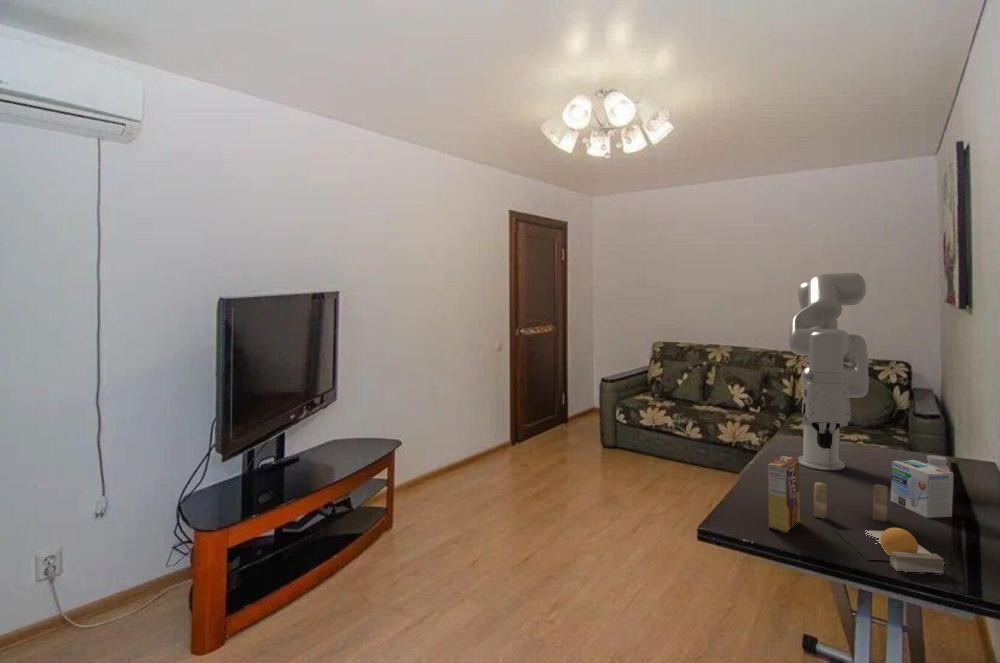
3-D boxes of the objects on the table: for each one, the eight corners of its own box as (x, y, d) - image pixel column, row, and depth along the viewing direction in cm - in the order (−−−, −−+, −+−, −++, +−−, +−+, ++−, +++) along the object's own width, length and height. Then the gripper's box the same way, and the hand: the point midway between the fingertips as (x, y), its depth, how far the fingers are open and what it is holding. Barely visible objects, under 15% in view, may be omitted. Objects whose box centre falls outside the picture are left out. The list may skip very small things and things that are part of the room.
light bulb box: (889, 501, 131) (890, 460, 130) (913, 500, 131) (914, 459, 131) (927, 518, 120) (928, 474, 120) (953, 517, 121) (955, 472, 120)
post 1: (811, 514, 123) (812, 482, 123) (823, 514, 123) (823, 482, 123) (816, 518, 121) (817, 486, 120) (828, 519, 120) (829, 486, 120)
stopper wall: (890, 566, 99) (890, 551, 99) (935, 569, 98) (936, 553, 97) (896, 571, 97) (896, 556, 97) (943, 574, 96) (943, 559, 96)
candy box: (780, 517, 122) (781, 454, 121) (800, 522, 119) (801, 458, 118) (766, 528, 116) (767, 463, 115) (787, 534, 113) (788, 467, 112)
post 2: (870, 516, 121) (871, 484, 121) (882, 517, 121) (883, 484, 121) (877, 521, 119) (877, 488, 118) (889, 522, 118) (890, 488, 118)
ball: (884, 564, 102) (870, 537, 106) (917, 566, 101) (902, 539, 106) (894, 548, 98) (880, 520, 103) (929, 550, 97) (913, 522, 102)
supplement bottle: (954, 497, 133) (955, 460, 132) (930, 495, 134) (931, 459, 133) (940, 489, 138) (941, 454, 138) (918, 488, 139) (919, 453, 139)
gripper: (801, 380, 130) (800, 450, 130) (865, 380, 127) (863, 452, 128) (789, 376, 137) (788, 442, 138) (849, 376, 135) (847, 444, 136)
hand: (824, 447), depth 133 cm, fingers closed
